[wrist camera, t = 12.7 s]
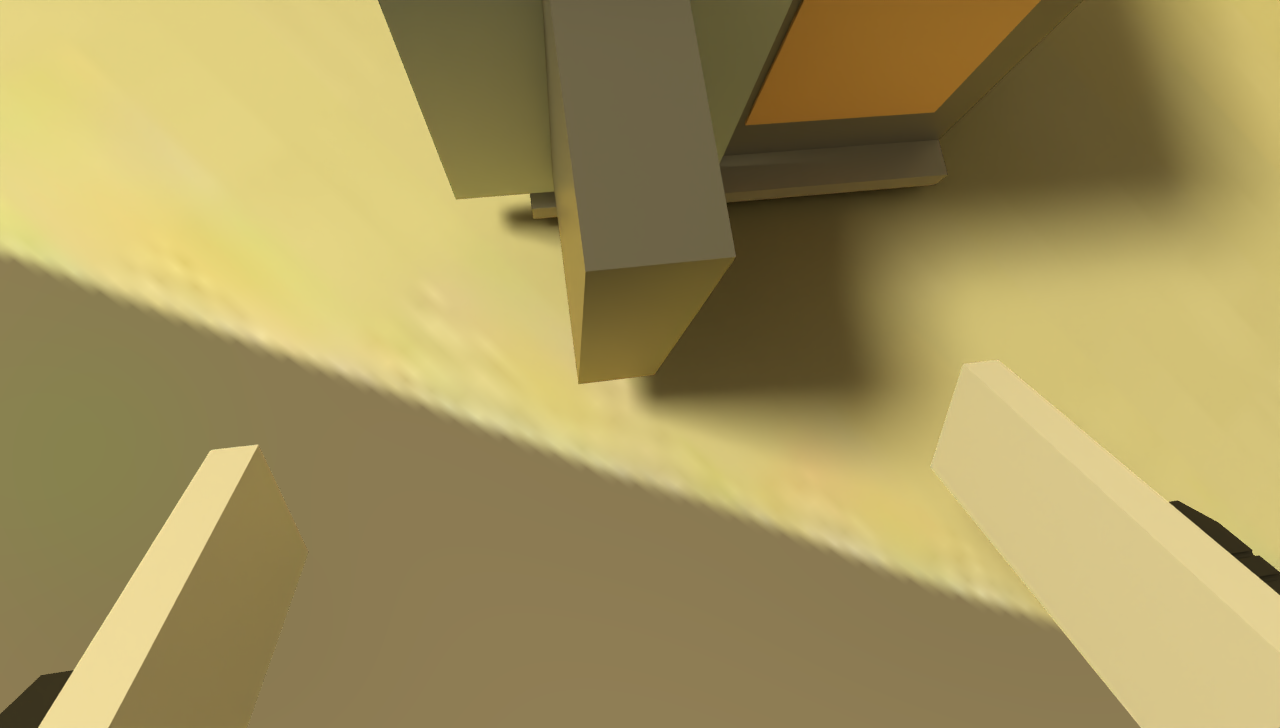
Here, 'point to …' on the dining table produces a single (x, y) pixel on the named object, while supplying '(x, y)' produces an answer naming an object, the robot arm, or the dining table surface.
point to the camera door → (598, 142)
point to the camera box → (868, 93)
